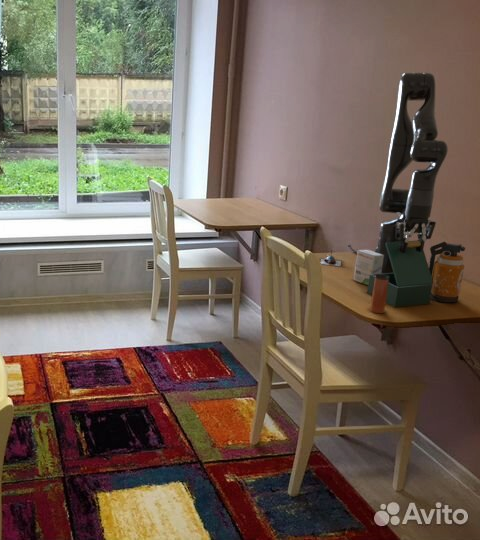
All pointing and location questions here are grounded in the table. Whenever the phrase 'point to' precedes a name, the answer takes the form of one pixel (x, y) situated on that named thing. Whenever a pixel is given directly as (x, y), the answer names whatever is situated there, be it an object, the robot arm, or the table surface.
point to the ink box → (367, 265)
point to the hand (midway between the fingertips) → (410, 251)
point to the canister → (446, 271)
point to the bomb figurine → (330, 261)
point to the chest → (403, 292)
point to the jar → (379, 293)
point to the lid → (409, 264)
